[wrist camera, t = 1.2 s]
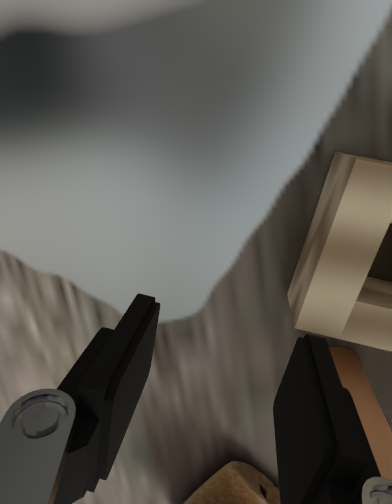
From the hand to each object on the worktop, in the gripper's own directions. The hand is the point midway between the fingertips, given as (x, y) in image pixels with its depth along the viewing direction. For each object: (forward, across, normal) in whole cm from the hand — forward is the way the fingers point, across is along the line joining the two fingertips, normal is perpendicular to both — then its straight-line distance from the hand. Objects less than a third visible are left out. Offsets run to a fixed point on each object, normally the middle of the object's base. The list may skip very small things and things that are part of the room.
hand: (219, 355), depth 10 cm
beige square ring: (+17, -12, 0) cm, 21 cm away
